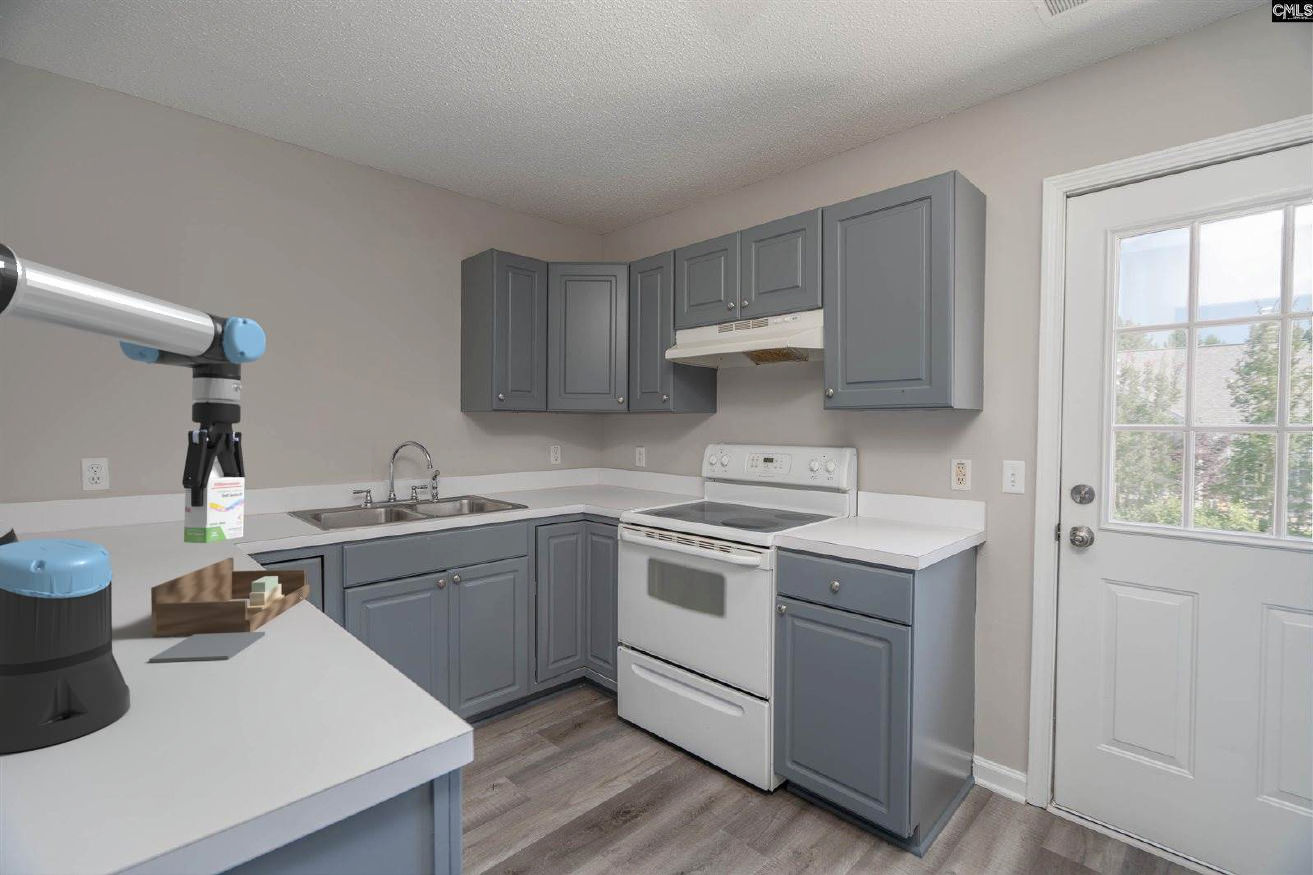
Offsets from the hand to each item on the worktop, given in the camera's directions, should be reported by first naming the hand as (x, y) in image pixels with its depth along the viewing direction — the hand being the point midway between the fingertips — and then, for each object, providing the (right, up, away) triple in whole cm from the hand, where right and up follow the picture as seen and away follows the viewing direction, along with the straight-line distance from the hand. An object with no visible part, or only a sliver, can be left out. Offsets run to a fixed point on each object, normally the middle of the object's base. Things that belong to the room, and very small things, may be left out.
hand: (215, 520), depth 118 cm
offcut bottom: (+3, -21, +10) cm, 23 cm away
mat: (+6, -21, -9) cm, 24 cm away
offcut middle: (+3, -18, +10) cm, 21 cm away
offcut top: (+3, -15, +10) cm, 18 cm away
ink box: (0, -4, 0) cm, 4 cm away
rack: (-2, -20, +10) cm, 23 cm away
